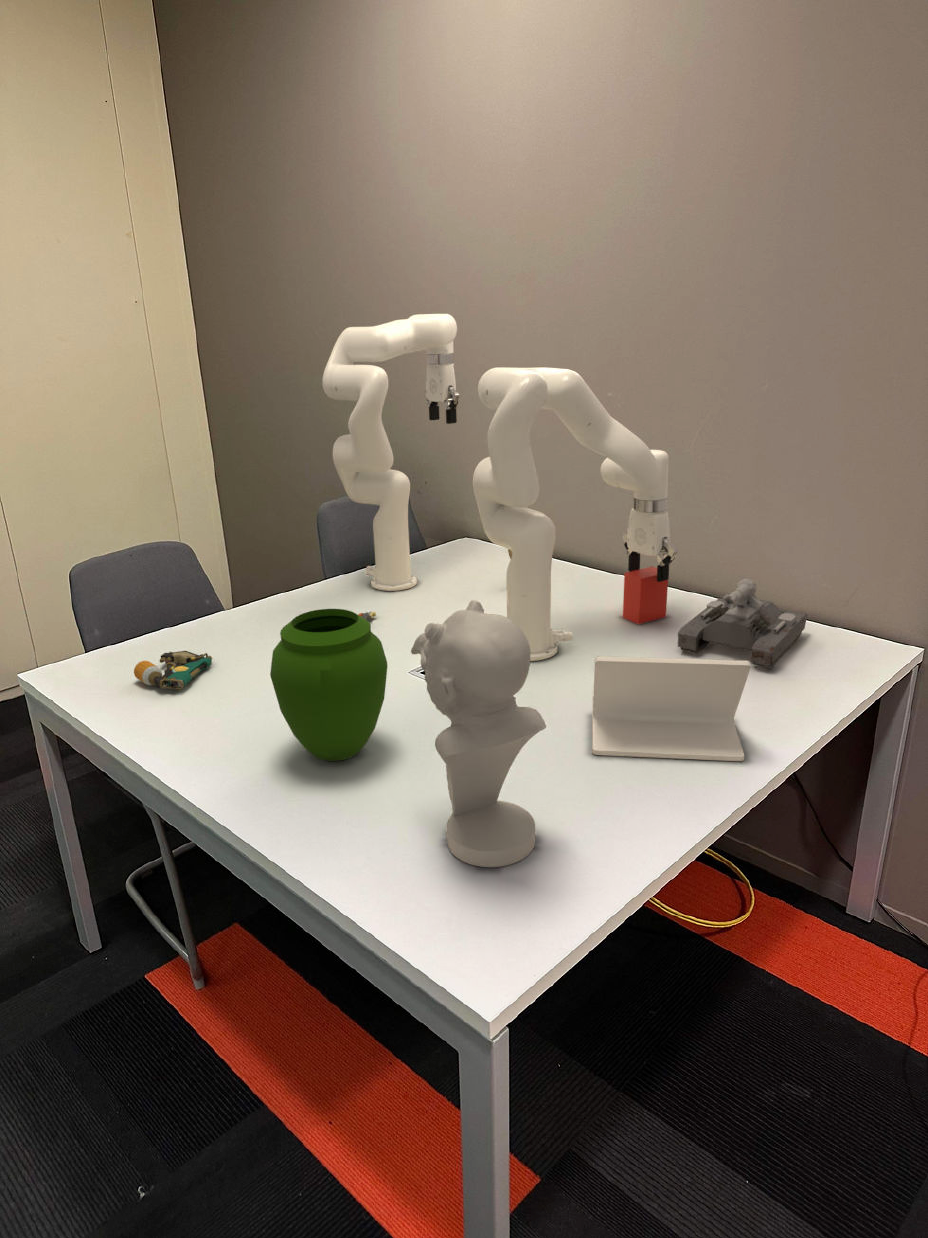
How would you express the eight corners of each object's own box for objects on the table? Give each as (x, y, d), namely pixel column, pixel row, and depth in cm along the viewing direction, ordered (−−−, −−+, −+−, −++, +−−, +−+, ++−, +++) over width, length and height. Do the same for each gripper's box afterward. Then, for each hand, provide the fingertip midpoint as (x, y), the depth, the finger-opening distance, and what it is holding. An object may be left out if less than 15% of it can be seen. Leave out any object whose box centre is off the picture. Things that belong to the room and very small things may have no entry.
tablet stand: (744, 761, 141) (754, 667, 135) (592, 754, 145) (595, 663, 139) (728, 711, 158) (736, 626, 152) (592, 707, 162) (594, 623, 156)
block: (622, 617, 206) (624, 572, 202) (649, 610, 210) (651, 566, 206) (638, 624, 202) (641, 578, 198) (665, 616, 206) (668, 572, 202)
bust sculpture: (481, 772, 140) (476, 569, 128) (565, 848, 120) (569, 617, 108) (392, 800, 134) (378, 588, 121) (465, 886, 114) (457, 642, 101)
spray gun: (177, 659, 191) (231, 671, 185) (120, 684, 176) (176, 698, 171) (176, 641, 190) (230, 653, 184) (118, 665, 175) (174, 678, 169)
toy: (718, 618, 203) (723, 557, 198) (805, 634, 192) (812, 570, 187) (676, 653, 184) (680, 587, 179) (769, 673, 173) (777, 604, 168)
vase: (415, 740, 151) (408, 611, 143) (343, 792, 136) (331, 651, 127) (331, 715, 161) (319, 593, 153) (256, 761, 146) (238, 628, 137)
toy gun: (311, 634, 194) (352, 630, 192) (338, 611, 212) (376, 607, 210) (313, 645, 195) (354, 642, 193) (340, 621, 213) (378, 618, 211)
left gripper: (414, 359, 247) (417, 419, 253) (444, 362, 233) (446, 426, 239) (436, 358, 251) (439, 417, 257) (467, 360, 237) (469, 423, 243)
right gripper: (612, 500, 201) (611, 569, 208) (665, 514, 188) (662, 588, 194) (636, 495, 205) (635, 563, 211) (689, 509, 191) (686, 581, 197)
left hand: (442, 421), depth 248 cm, fingers open, 9 cm apart
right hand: (648, 575), depth 202 cm, fingers open, 9 cm apart
